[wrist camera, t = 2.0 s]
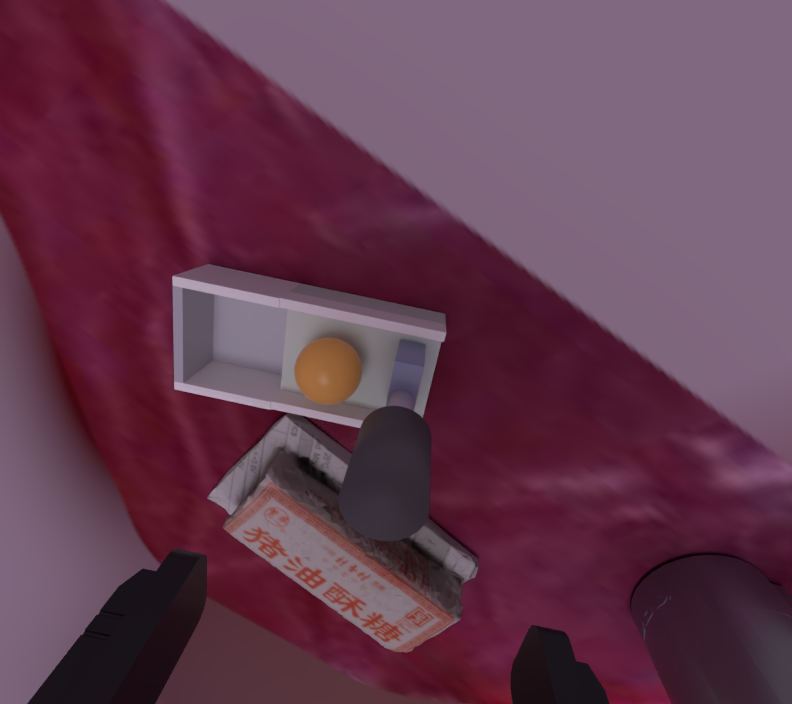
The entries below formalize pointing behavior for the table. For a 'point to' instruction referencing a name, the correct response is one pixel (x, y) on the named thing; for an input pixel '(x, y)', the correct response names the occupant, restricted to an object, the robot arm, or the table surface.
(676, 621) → the robot arm
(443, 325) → the tray
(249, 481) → the packaged product
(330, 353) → the ball
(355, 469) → the striker
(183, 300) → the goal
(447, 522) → the table surface
